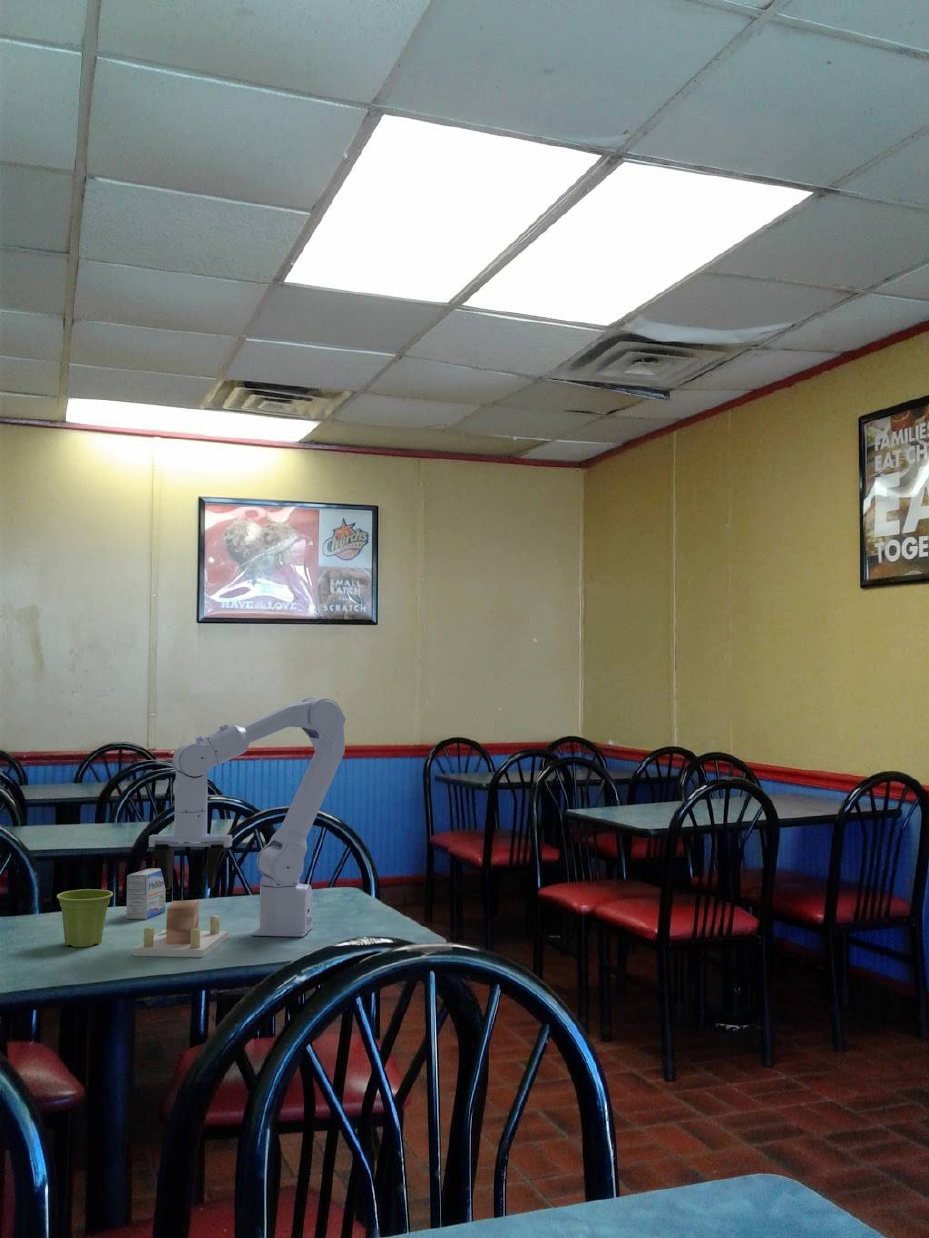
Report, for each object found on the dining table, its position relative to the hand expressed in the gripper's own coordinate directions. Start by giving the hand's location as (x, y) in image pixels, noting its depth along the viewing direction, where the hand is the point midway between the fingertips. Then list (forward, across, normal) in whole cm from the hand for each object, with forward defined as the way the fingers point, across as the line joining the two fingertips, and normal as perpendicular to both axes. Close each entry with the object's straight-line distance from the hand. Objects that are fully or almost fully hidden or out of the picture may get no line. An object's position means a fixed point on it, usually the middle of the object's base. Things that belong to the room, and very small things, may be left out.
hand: (189, 887), depth 191 cm
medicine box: (+10, +15, -22) cm, 28 cm away
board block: (+8, 0, +3) cm, 9 cm away
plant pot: (+10, +18, +2) cm, 21 cm away
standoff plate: (+10, 0, +4) cm, 10 cm away
